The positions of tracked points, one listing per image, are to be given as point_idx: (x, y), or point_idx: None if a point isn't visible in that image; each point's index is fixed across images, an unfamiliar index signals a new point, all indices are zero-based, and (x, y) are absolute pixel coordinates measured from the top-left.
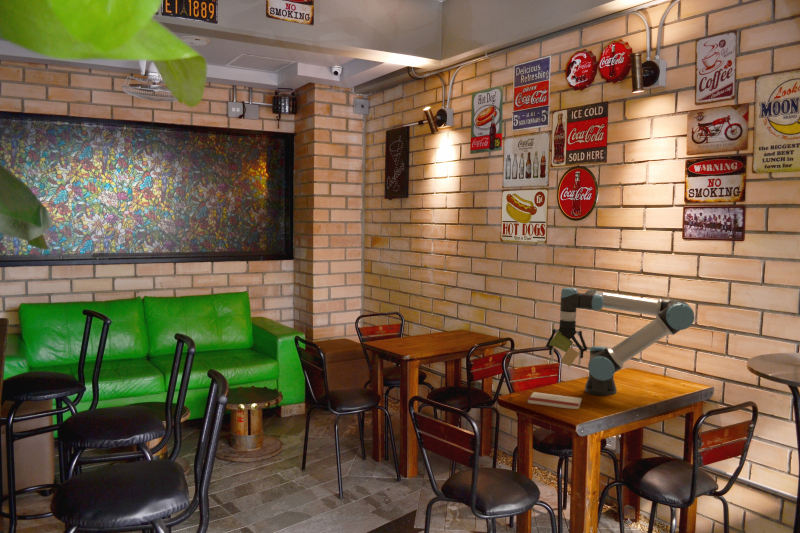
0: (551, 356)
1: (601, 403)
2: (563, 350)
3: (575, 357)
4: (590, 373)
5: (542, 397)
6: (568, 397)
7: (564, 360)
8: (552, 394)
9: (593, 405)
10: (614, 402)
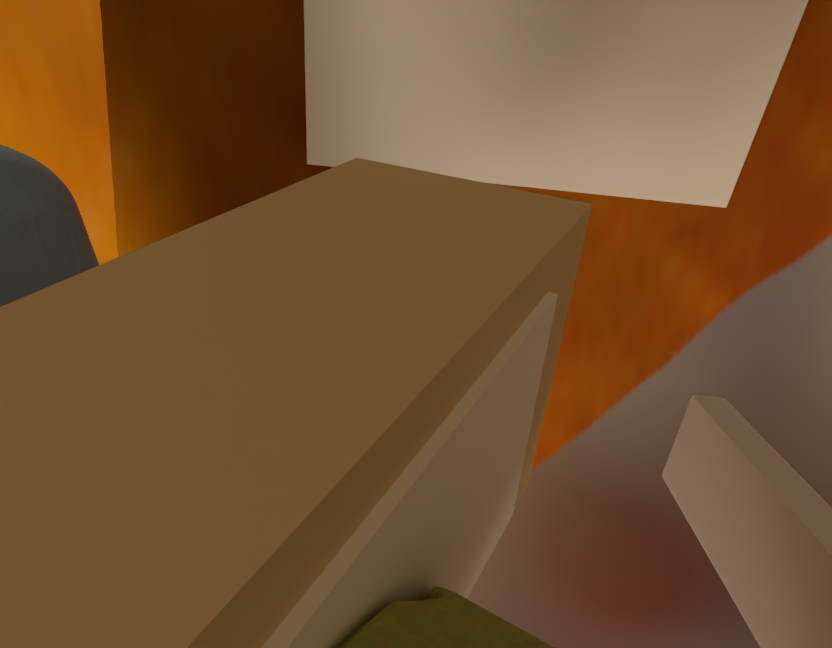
0: (807, 484)
1: (171, 159)
2: (545, 644)
3: (105, 273)
4: (58, 186)
5: (665, 38)
6: (415, 141)
7: (477, 208)
8: (554, 187)
9: (212, 71)
10: (100, 222)
